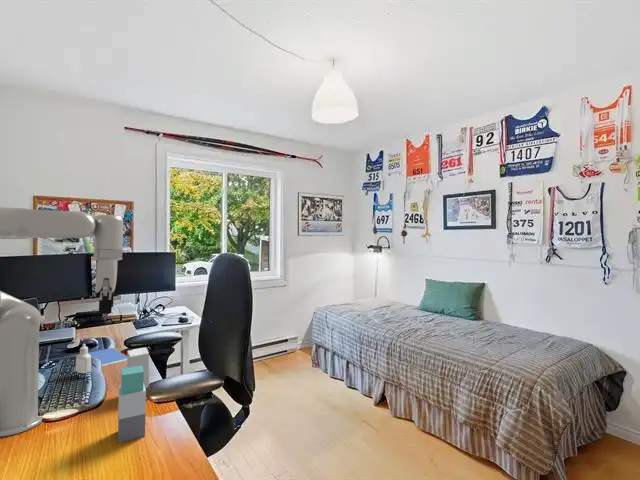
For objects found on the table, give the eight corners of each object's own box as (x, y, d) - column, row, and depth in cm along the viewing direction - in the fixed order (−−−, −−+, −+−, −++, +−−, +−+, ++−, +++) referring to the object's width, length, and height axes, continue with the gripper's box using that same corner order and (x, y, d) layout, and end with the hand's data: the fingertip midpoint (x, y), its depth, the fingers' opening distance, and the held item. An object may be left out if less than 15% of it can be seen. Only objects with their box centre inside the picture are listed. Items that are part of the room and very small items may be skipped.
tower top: (119, 419, 88) (119, 395, 88) (118, 409, 93) (118, 386, 93) (145, 413, 91) (145, 390, 91) (143, 404, 97) (143, 382, 96)
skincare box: (149, 399, 112) (150, 353, 112) (128, 404, 108) (129, 356, 108) (146, 389, 119) (147, 346, 119) (125, 393, 115) (126, 349, 115)
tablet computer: (130, 360, 147) (130, 357, 147) (96, 368, 137) (96, 365, 137) (112, 350, 159) (113, 347, 159) (80, 357, 149) (80, 354, 149)
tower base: (118, 442, 88) (119, 419, 88) (118, 431, 93) (118, 409, 93) (144, 436, 91) (145, 413, 91) (142, 425, 97) (143, 404, 97)
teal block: (121, 394, 89) (121, 375, 89) (121, 387, 93) (121, 368, 93) (143, 390, 92) (143, 371, 91) (141, 383, 96) (142, 365, 96)
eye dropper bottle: (77, 380, 125) (77, 347, 125) (75, 375, 129) (76, 343, 129) (91, 377, 128) (92, 344, 127) (89, 372, 132) (90, 341, 132)
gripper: (96, 253, 113) (94, 305, 113) (90, 256, 98) (88, 317, 98) (123, 253, 117) (121, 304, 117) (121, 256, 102) (119, 315, 102)
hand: (106, 310), depth 107 cm, fingers open, 9 cm apart
